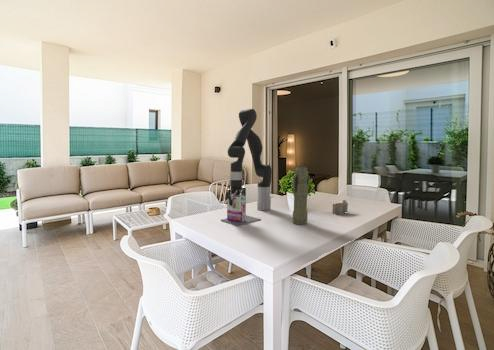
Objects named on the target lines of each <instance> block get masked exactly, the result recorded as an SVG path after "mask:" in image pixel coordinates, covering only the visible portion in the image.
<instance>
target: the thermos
mask: <svg viewBox="0 0 494 350" xmlns="http://www.w3.org/2000/svg"><path fill="white" fill-rule="evenodd" d="M309 188H310V175H309V173H308V168H307V167H306V166H296V168H295V170H294V175H293V177H292V193H293V211H292V224H293V225H297V226H306V225H308V211H307V210H308V196H309V190H310V189H309ZM305 224H306V225H305Z"/></svg>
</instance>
